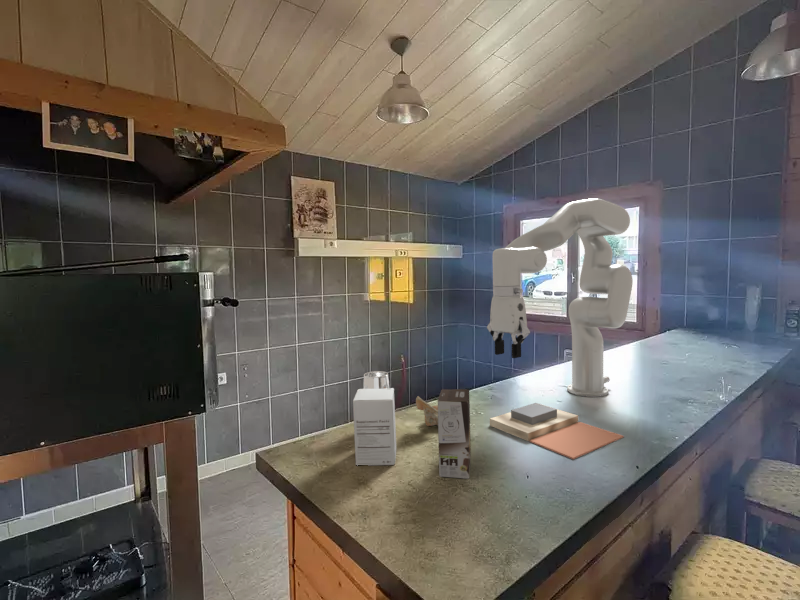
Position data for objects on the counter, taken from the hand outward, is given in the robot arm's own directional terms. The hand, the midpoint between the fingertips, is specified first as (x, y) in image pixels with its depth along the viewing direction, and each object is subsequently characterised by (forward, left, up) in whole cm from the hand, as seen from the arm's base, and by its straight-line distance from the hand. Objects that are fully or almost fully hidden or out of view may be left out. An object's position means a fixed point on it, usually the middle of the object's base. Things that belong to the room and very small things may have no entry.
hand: (507, 355), depth 120 cm
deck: (0, +9, -18) cm, 20 cm away
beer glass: (+35, -14, -18) cm, 42 cm away
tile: (0, +9, -15) cm, 17 cm away
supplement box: (+44, 0, -18) cm, 47 cm away
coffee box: (+33, +16, -18) cm, 41 cm away
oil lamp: (+18, -8, -18) cm, 26 cm away
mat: (0, +22, -18) cm, 28 cm away
